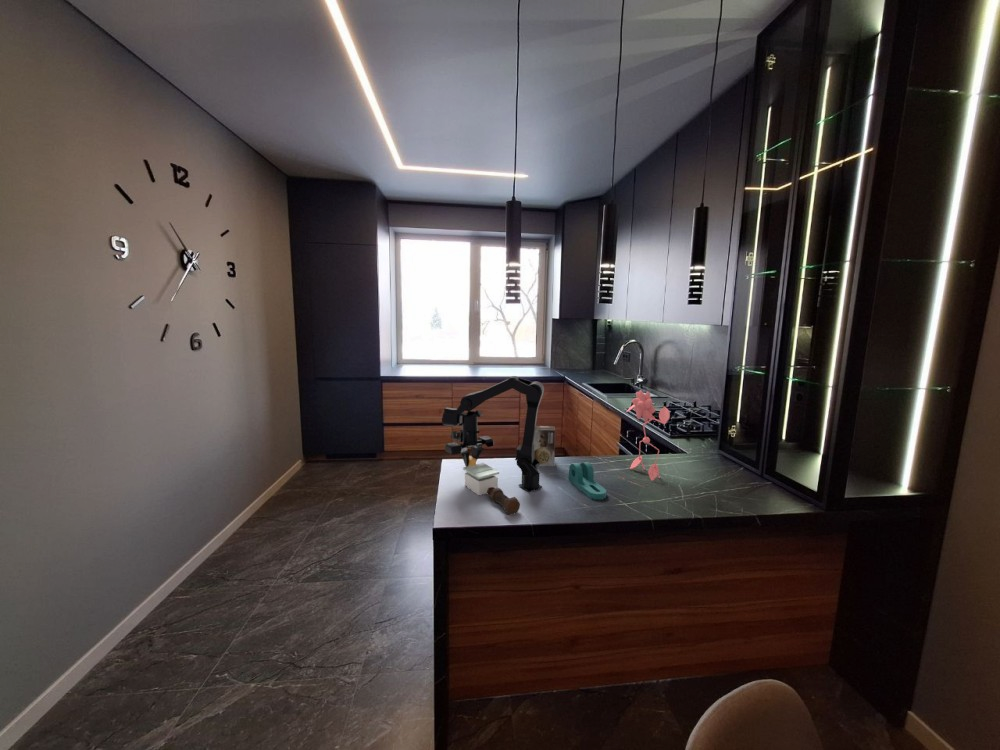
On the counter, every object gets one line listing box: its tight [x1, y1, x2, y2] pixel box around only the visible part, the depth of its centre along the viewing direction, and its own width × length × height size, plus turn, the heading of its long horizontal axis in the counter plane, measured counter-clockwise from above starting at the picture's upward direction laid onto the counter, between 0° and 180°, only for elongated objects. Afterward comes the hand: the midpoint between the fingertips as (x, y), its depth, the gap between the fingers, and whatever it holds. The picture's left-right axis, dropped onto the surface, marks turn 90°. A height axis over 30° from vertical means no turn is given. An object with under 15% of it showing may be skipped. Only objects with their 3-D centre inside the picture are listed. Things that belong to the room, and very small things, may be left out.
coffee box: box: [533, 425, 556, 467], centre depth 168 cm, size 9×6×16 cm
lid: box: [462, 455, 500, 479], centre depth 145 cm, size 15×9×3 cm, turn 36°
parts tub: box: [464, 472, 499, 496], centre depth 144 cm, size 10×8×5 cm
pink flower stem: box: [618, 389, 671, 487], centre depth 155 cm, size 15×26×35 cm, turn 17°
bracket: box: [568, 461, 607, 500], centre depth 144 cm, size 18×7×8 cm, turn 17°
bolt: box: [486, 487, 521, 516], centre depth 132 cm, size 6×5×15 cm
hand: (469, 466), depth 150 cm, fingers closed on lid, 2 cm apart
